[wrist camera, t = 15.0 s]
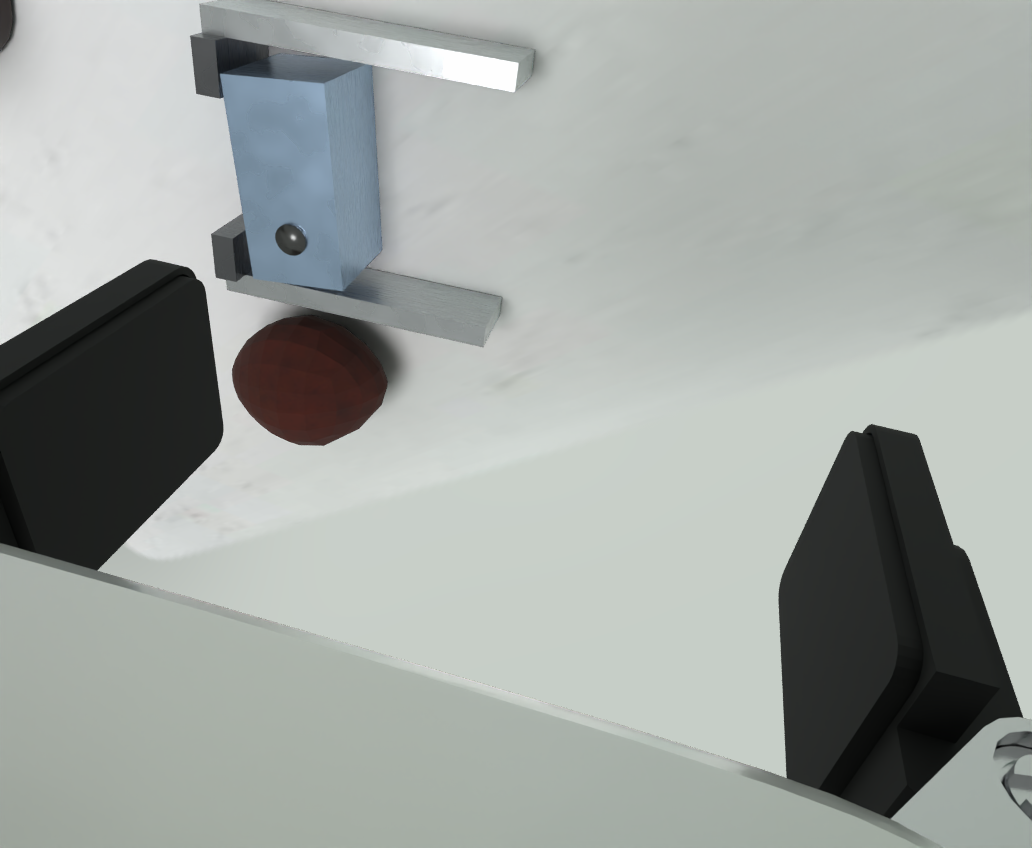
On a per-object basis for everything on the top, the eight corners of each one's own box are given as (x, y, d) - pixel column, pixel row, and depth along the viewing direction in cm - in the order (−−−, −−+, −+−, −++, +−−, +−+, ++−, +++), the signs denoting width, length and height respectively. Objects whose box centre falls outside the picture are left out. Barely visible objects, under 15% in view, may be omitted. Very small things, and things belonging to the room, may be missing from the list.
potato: (259, 284, 47) (191, 341, 41) (402, 304, 46) (354, 366, 40) (276, 393, 52) (217, 460, 46) (406, 415, 50) (364, 486, 44)
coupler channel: (535, 49, 37) (513, 67, 33) (499, 315, 45) (478, 355, 41) (242, -5, 38) (187, 6, 34) (260, 263, 46) (218, 297, 42)
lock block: (372, 61, 39) (322, 84, 34) (383, 249, 44) (341, 292, 39) (280, 53, 39) (217, 74, 34) (302, 238, 45) (251, 280, 40)
